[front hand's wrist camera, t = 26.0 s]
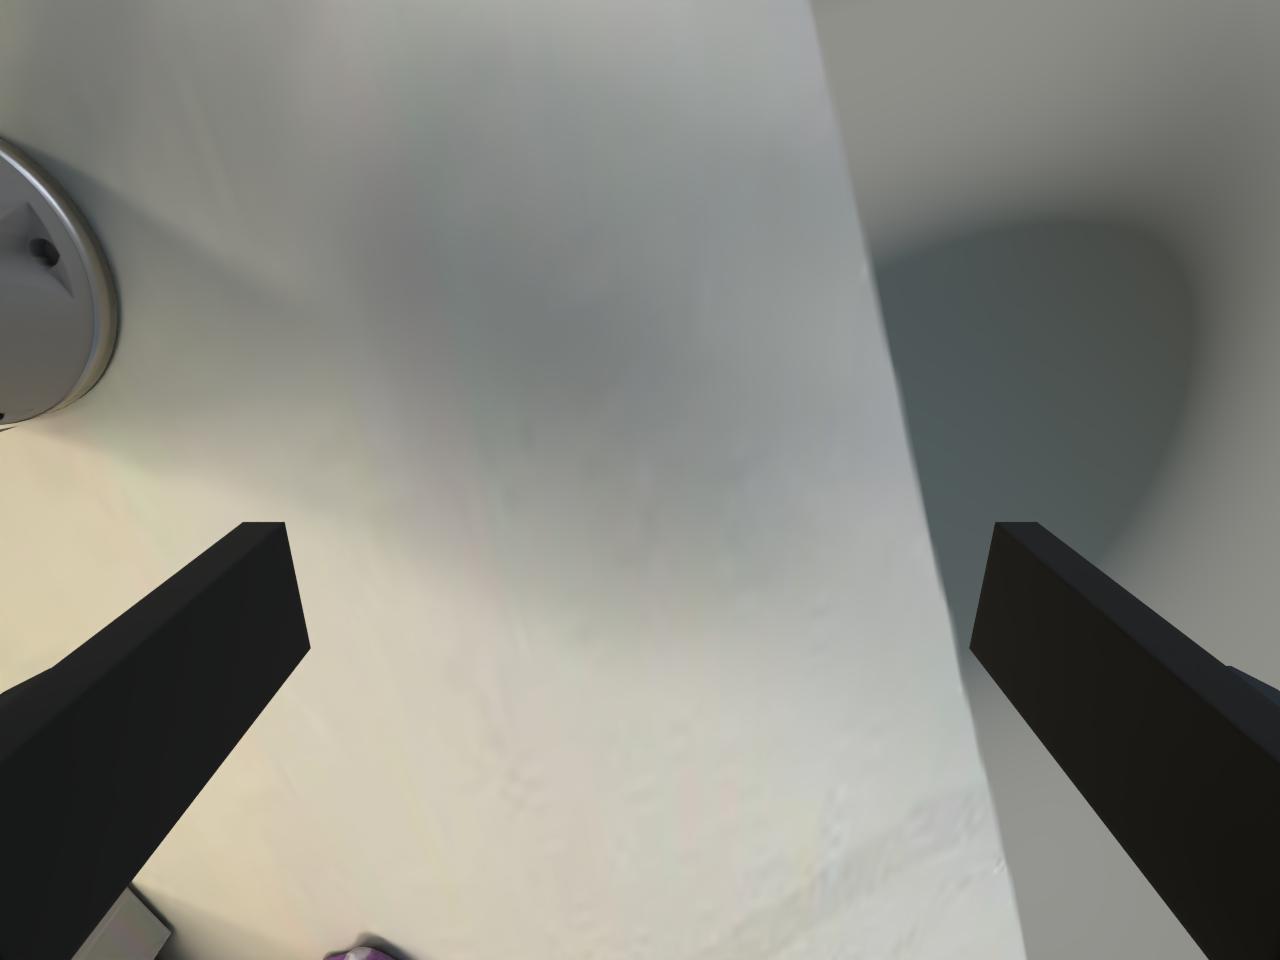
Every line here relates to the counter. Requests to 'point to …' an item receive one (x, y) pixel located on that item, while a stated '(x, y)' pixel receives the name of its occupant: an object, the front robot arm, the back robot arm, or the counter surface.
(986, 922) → the counter surface
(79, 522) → the counter surface
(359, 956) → the figurine
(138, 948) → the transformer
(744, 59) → the counter surface
